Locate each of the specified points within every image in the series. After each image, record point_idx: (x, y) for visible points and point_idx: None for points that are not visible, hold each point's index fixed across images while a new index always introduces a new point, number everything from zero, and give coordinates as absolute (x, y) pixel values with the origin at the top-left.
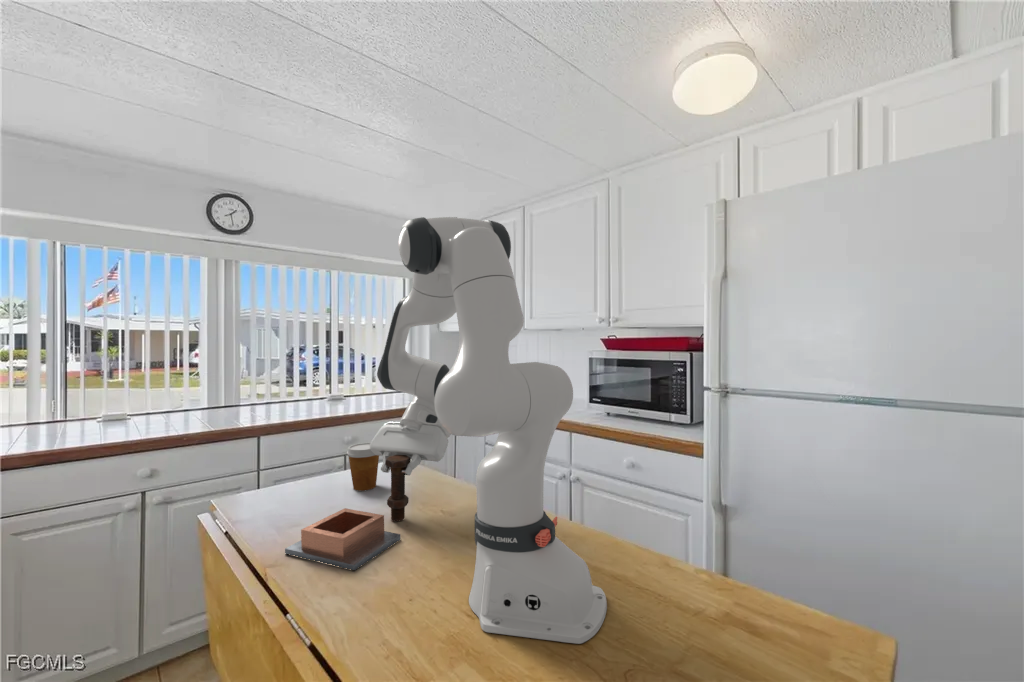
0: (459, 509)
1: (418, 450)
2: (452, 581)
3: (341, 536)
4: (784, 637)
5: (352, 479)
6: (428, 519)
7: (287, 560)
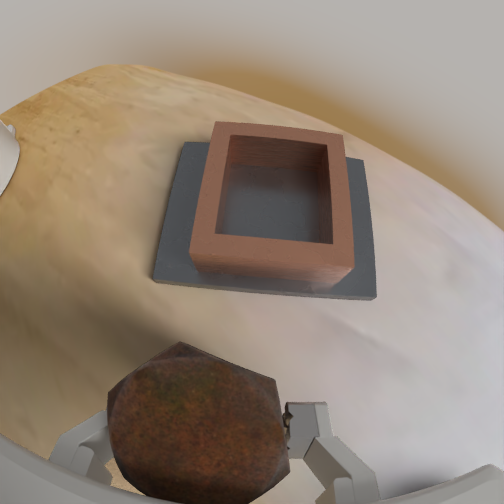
0: None
1: (23, 465)
2: (34, 180)
3: (225, 127)
4: None
5: None
6: None
7: None
